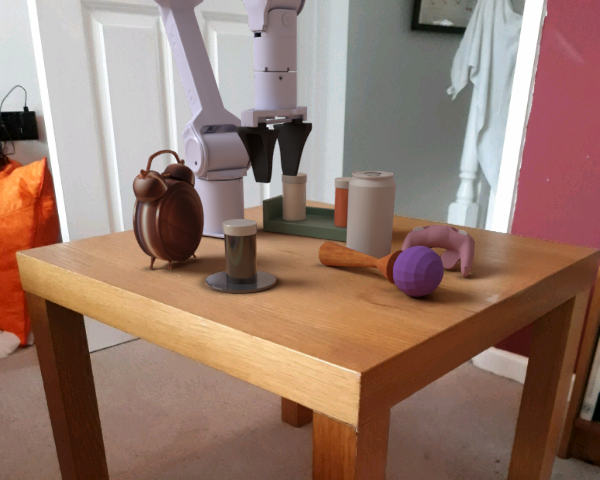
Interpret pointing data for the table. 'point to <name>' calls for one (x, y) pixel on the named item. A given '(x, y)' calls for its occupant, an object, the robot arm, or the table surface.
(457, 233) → the video game controller
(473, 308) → the table surface
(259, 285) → the coaster
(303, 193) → the salt shaker
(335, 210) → the paprika shaker
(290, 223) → the spice rack
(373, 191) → the beverage can
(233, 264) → the pepper shaker
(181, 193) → the alarm clock
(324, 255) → the kendama
